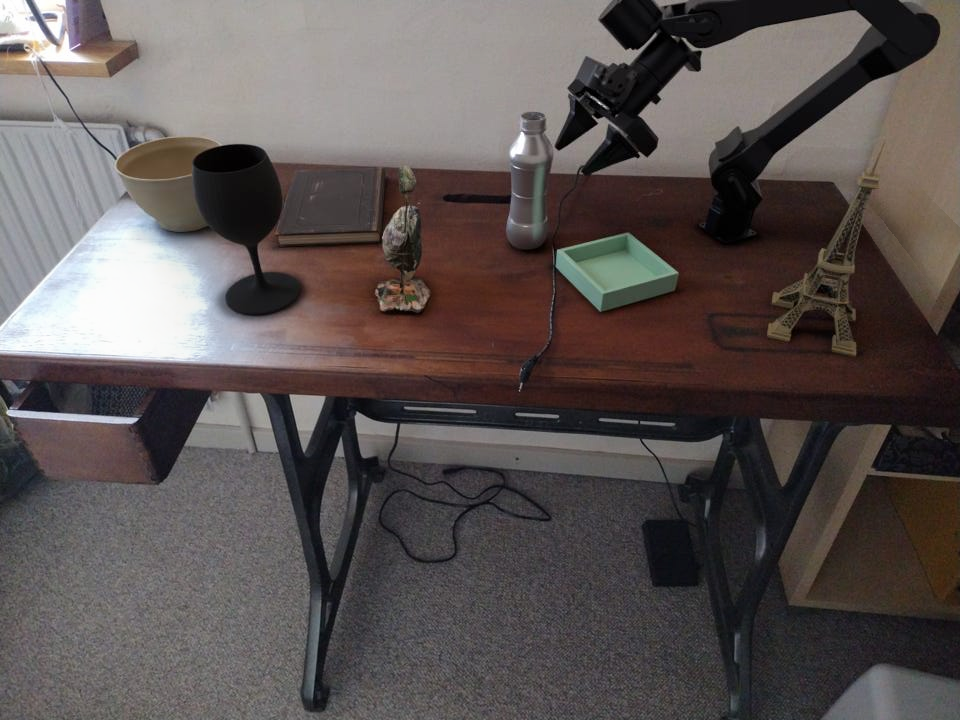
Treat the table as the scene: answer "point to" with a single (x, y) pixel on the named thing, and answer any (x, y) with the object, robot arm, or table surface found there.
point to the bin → (616, 271)
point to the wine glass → (244, 219)
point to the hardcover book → (333, 207)
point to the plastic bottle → (529, 182)
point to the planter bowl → (165, 179)
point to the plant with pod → (403, 254)
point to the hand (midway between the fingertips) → (569, 160)
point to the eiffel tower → (833, 266)
